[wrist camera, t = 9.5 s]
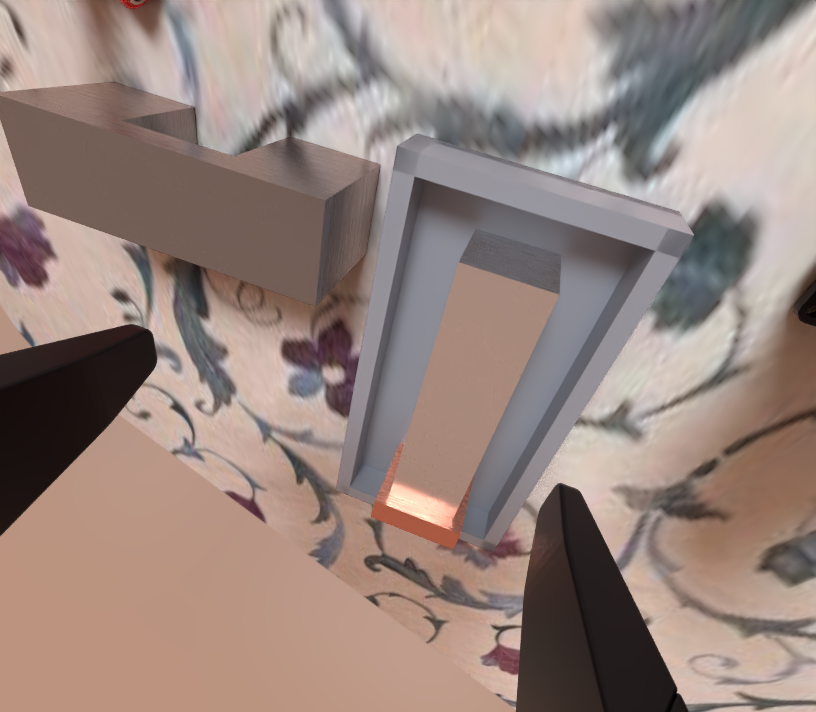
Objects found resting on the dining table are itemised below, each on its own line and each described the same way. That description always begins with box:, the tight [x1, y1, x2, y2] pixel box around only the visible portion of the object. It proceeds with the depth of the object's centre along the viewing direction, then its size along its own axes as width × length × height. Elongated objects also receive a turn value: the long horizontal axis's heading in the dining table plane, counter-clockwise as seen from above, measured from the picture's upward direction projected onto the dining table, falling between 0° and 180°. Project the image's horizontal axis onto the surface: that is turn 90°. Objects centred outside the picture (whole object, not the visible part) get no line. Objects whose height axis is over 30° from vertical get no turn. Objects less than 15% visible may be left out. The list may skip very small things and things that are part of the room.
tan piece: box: [371, 228, 561, 549], centre depth 21 cm, size 15×5×4 cm, turn 168°
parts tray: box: [336, 134, 694, 552], centre depth 22 cm, size 10×20×2 cm, turn 167°
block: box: [0, 82, 380, 306], centre depth 18 cm, size 12×4×5 cm, turn 78°
